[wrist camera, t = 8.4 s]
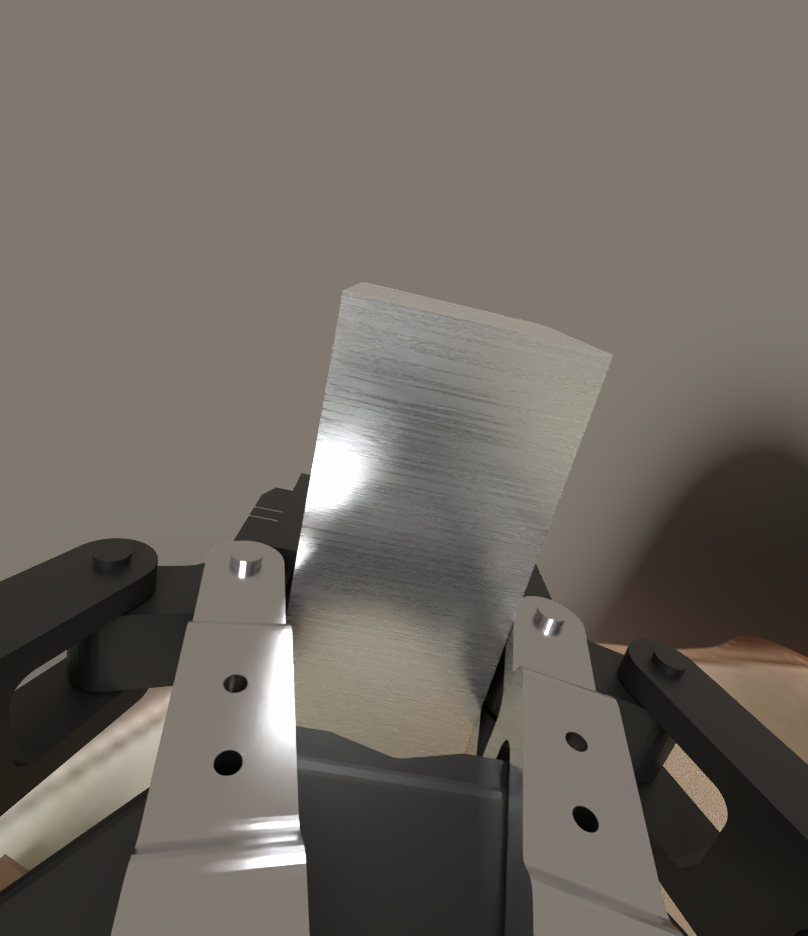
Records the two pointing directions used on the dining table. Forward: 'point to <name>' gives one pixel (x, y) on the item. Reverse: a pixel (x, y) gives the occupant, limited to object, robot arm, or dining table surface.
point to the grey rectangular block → (427, 512)
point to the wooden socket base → (10, 871)
